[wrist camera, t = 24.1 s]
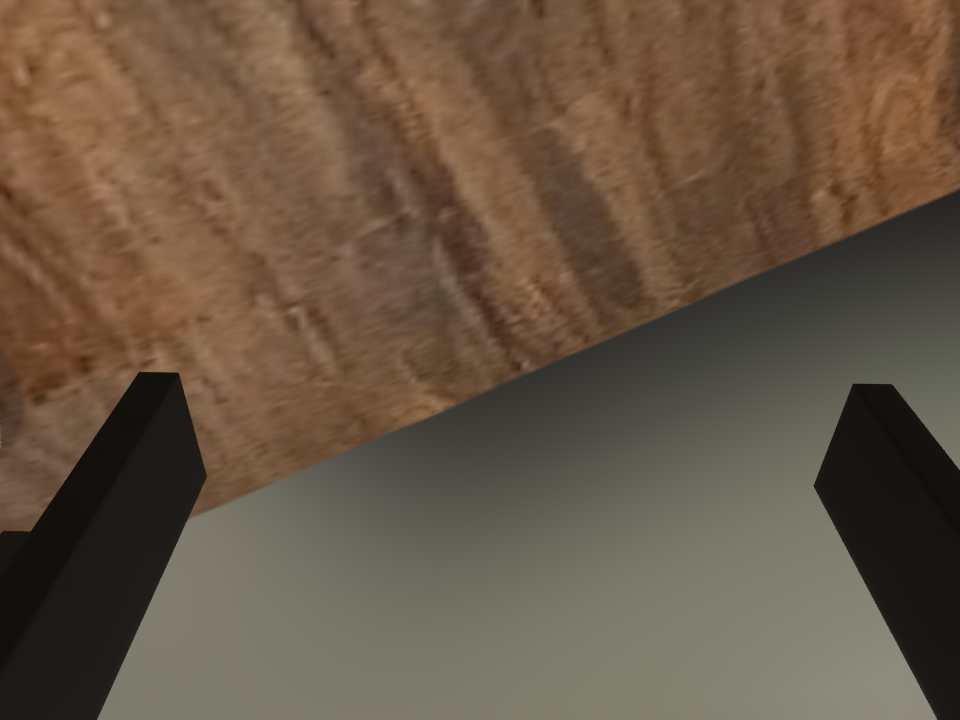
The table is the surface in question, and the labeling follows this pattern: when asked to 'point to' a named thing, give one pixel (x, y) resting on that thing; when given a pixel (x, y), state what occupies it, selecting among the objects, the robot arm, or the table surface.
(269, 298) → the table surface
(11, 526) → the table surface
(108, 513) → the robot arm
